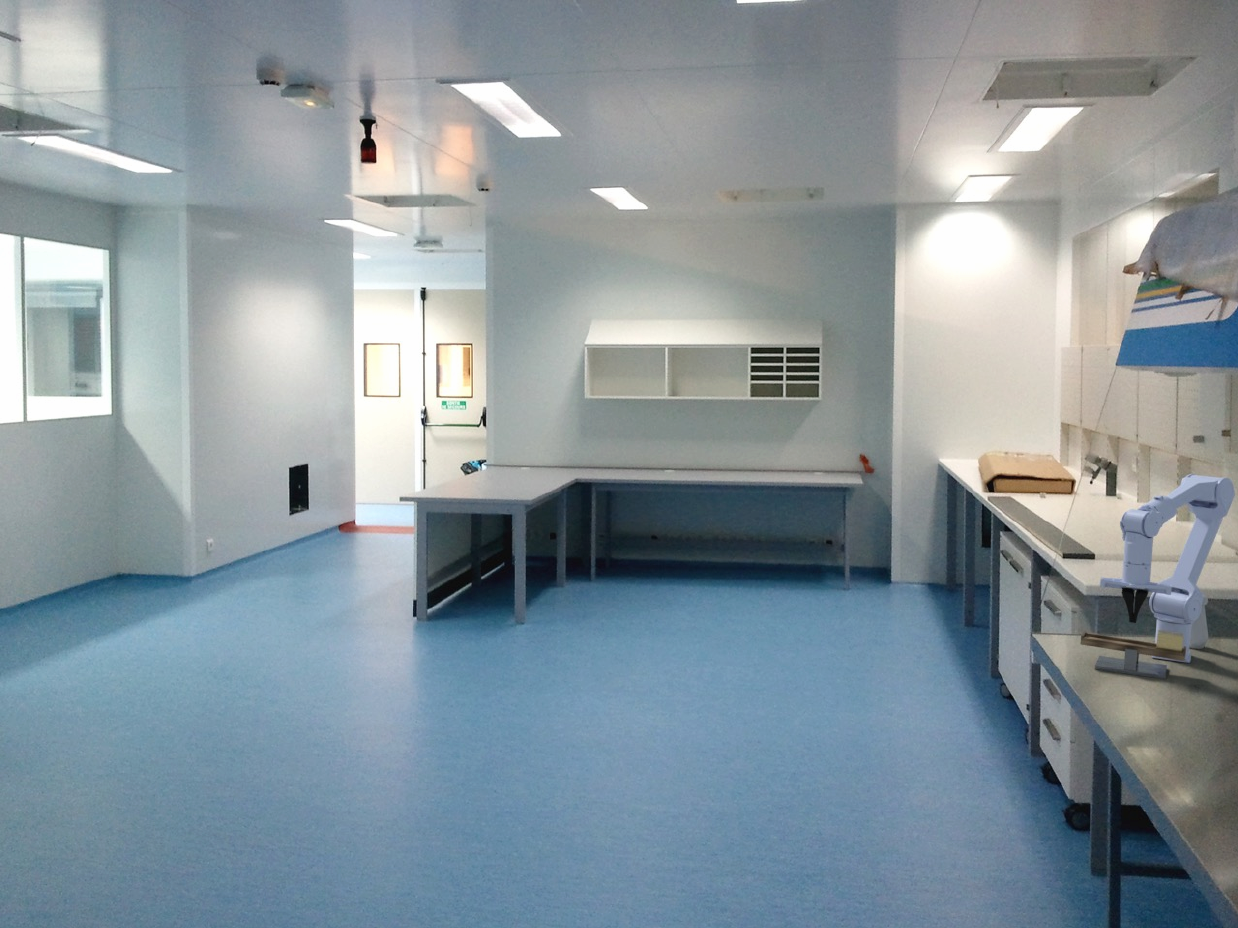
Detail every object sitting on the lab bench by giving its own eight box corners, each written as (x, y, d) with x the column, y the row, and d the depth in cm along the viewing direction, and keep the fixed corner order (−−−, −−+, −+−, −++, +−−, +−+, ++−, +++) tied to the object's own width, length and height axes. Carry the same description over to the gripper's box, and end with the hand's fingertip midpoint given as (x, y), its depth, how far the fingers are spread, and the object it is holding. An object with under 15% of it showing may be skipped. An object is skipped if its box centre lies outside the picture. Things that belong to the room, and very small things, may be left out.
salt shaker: (1210, 650, 260) (1215, 597, 259) (1185, 648, 261) (1189, 596, 260) (1202, 644, 266) (1207, 592, 265) (1177, 642, 267) (1181, 591, 266)
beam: (1079, 648, 243) (1081, 636, 243) (1083, 642, 249) (1084, 630, 249) (1184, 665, 233) (1185, 652, 233) (1184, 658, 239) (1186, 645, 239)
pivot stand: (1099, 658, 249) (1100, 636, 249) (1166, 668, 242) (1168, 645, 242) (1094, 668, 240) (1096, 645, 240) (1164, 679, 234) (1166, 654, 233)
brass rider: (1156, 647, 240) (1158, 629, 240) (1181, 651, 238) (1183, 633, 237) (1155, 650, 237) (1157, 632, 237) (1181, 654, 235) (1183, 636, 234)
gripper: (1100, 561, 243) (1096, 620, 244) (1172, 569, 236) (1167, 629, 237) (1103, 557, 249) (1099, 614, 250) (1173, 564, 242) (1169, 623, 243)
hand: (1132, 621), depth 244 cm, fingers closed
